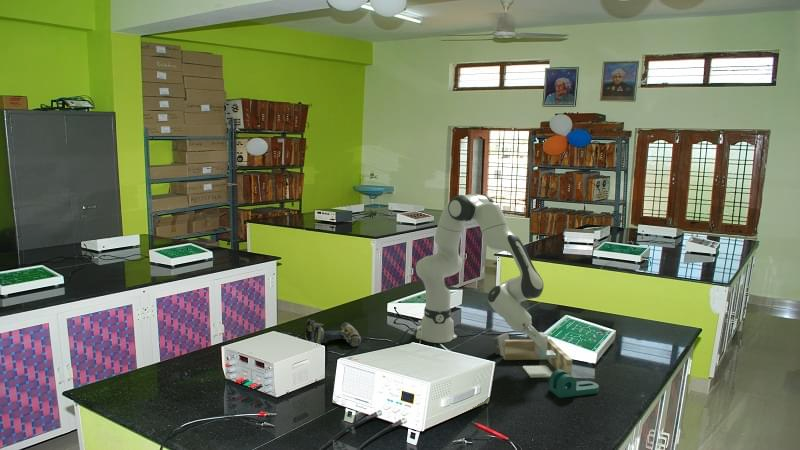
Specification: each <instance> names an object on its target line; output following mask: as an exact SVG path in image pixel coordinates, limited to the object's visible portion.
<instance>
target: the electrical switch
mask: <svg viewBox="0 0 800 450" xmlns="http://www.w3.org/2000/svg"><path fill="white" fill-rule="evenodd" d="M492 340H493V346H494V350H495V355H499V356H501V357H503V356H504V340H510V337H509V333H508V332H504V333H502V334H499V335H497V336H495V337H494V338H492Z"/></svg>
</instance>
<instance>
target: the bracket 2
mask: <svg viewBox="0 0 800 450" xmlns="http://www.w3.org/2000/svg"><path fill="white" fill-rule="evenodd" d="M552 372H553V373H552V374H551V377H549V389H548V390H549V391H550V392H551V393H552V394H553V395H555V396H556V397H558V399H560V398H561V399H562V398H570V397H576V396H577V397H578V396H579V397H580V396H586V395H595V394H598V393H599V386H600V385H599V384H598V383H596V382H595V381H590V380H581V381H577V379H575V378H574V377H573V376H572V375H571V376H570V375H568V374H567V373H566V372H565V371H563V370H561V369H558V370H556V369H555V370H554V371H552Z"/></svg>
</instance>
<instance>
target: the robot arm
mask: <svg viewBox="0 0 800 450" xmlns="http://www.w3.org/2000/svg"><path fill="white" fill-rule="evenodd" d="M468 221H469V222H471V221H472V222H474V221H476V222H477V223H478V226H479V229H480V232H481V235H482V238H483V241H484V243H485V245H486V246H487V247H488V248H490V249H492V250H495V251H501V252H508V253H509V254H510V255H511V256H512V258H513V260H514V262H515V264H516V266H517V268H518V271H519V274H520V275H518V276H515V277H512V278H509V279H507V280H505V281H503V282H502V283H501V284H499V285H495V286H494V287H493V288H491V289H490V291H489V292H488V295H487V301H488V304H489V305H490V306H491V308H492V309H493V310H494V312H495V313H496V314H497V315H499V317H501V318H503V319H504V322H505V323H506V324H507V325H508V326H509V327H510V328H511V329H512V330H513V332H515V333H517V332H519V333H525V335H526V336H527V337H528V338H529V339H530V340H533V341H534V342H535V343H536V344H537V345H538V346H539V347H541V346H542V347H543V348H544V349H546V348H547V345H546V344H545V343H546V340H545V339H544V338H543V337H542V336H541V335H540V333H539V332H540V331H538V330H537V329H536V328H535V327H534V326H533V325H532V324H533V322H532V315H531V314H530V313H529V312H528V311H527V310H526V308H524V307H523V306H522V305H521V303H522V302H525V301H527V300H531V299H537V298H539V297H540V296H542V293H543V289H544V281H543V278H542V277H541V275H540V273H538V271H537V269H536V268H535V266H534V264H533V261H532V260H531V258H530V256H529V253H528V252H527V250H526V247H525V246H524V244H523V242H522V240H521V238H520V237H519V236H518V235H516V234H514V233H513V231H511V229H510V227H509V224H508V222H507V218H506V217H505V214H504V212H503V210H502V208H501V206H500V205H499V204H498V203H496V202H494V199H493V198H492V197H491V196H489V195H488V194H487V195H486V194H482V193H481V194H478V193H469V194H464V195H462V194H460V195H455V196H454V197H452V198H451V199H449V202H448V203H446V204H445V206H444V208H443V209H442V212H441V215H440V218H439V220H438V223H437V228H436V231H435V235H434V239H433V240H434V243H435V244H436V245H437V252H436V254H432V255H426V256H424V257H423V258H421V259H419V260H418V261H417V262H416V266H415V272H416V275H417V277H419V279H420V280H421V281H422V282H423V285H424V290H425V307H424V310H423V316H422V319H421V320H418V323H417V324H418V326H417V327H416V328H417V329H416V334H415V339H418V340H423V341H424V342H426V343H427V342H428V343H436V344H444V343H449V342H451V341H452V340H455V339H457V337H458V335H457V334H455V331H454V329H455V327H454V323H455V322H454V320H453V318H452V317H451V316H452V315H451V314H452V309H451V297H452V296H451V295H452V294H451V291H450V289H449V288H448V287H447V286H446V284H445V283H446V282H445V278H448V277H452V276H454V275H456V274H458V273H459V272H460V271H461V270H462V268H463V259H462V257H461V256H460V253H459V249H460V248H459V247H460V242H461V238H462V234H463V231H464V228H465V224H466V222H468Z"/></svg>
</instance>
